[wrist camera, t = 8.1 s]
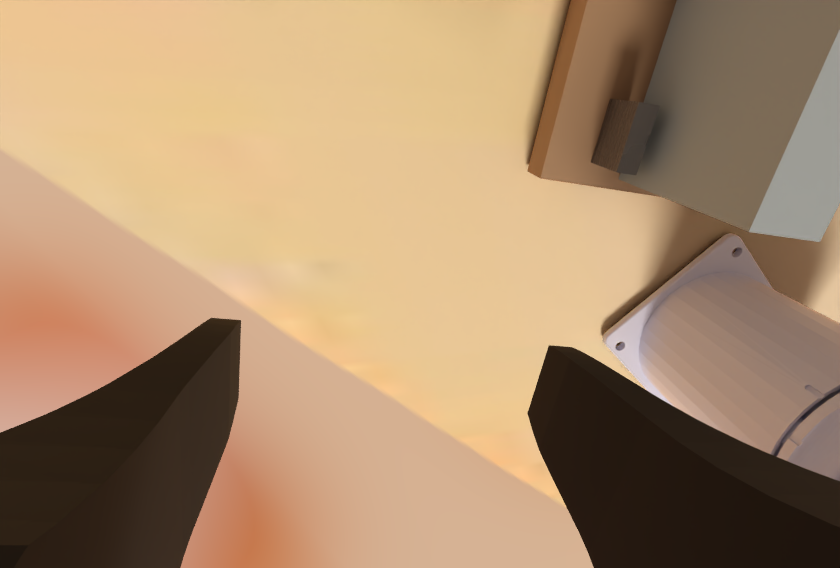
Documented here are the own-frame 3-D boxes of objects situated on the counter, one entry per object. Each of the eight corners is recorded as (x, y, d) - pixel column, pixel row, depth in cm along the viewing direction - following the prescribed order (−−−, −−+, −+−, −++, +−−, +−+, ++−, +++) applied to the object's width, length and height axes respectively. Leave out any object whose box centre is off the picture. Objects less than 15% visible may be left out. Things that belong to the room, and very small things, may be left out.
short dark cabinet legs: (808, -84, 17) (864, -102, 15) (703, 181, 20) (739, 192, 18) (676, -123, 16) (719, -148, 14) (590, 162, 19) (616, 172, 17)
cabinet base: (839, -121, 18) (880, -137, 16) (709, 199, 22) (733, 207, 21) (619, -193, 16) (645, -217, 15) (527, 171, 20) (540, 178, 19)
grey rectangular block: (797, -100, 16) (1082, -205, 10) (686, 189, 20) (842, 245, 14) (717, -124, 16) (966, -254, 9) (618, 179, 20) (748, 231, 13)
